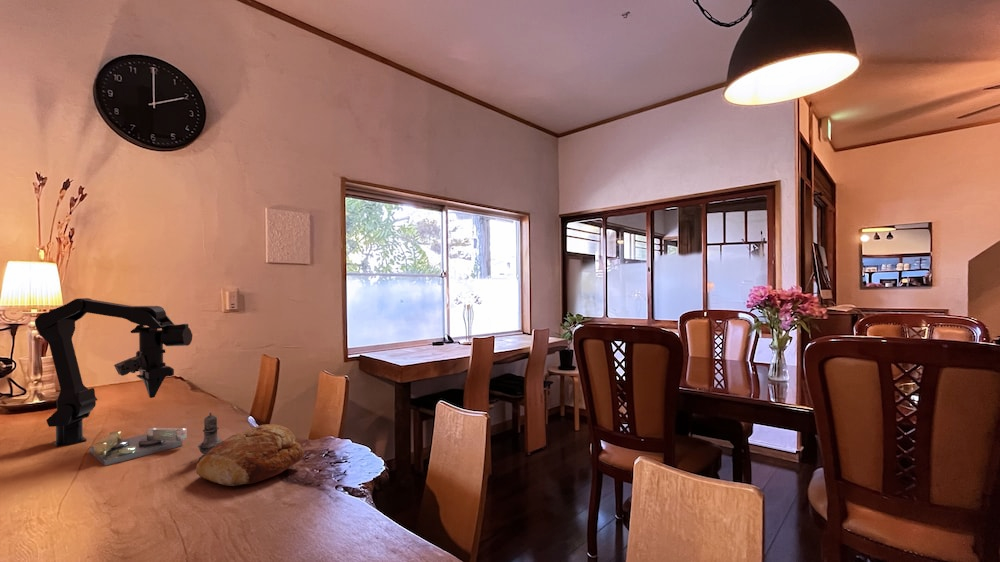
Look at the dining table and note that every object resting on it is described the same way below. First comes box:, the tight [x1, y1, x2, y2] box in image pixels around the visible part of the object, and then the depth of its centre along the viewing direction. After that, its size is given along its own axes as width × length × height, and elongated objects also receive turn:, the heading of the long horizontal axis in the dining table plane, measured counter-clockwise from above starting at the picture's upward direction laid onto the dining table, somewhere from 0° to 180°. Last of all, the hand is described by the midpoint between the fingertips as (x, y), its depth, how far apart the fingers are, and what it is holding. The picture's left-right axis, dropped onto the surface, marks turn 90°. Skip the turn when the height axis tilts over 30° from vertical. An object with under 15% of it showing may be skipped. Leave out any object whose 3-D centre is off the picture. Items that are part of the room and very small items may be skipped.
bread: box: [195, 423, 304, 487], centre depth 109 cm, size 20×18×10 cm
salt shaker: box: [197, 412, 224, 461], centre depth 118 cm, size 6×6×12 cm
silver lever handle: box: [139, 427, 188, 446], centre depth 125 cm, size 13×6×4 cm, turn 86°
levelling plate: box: [89, 433, 184, 467], centre depth 124 cm, size 16×17×2 cm
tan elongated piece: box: [93, 430, 129, 456], centre depth 119 cm, size 13×6×4 cm, turn 23°
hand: (151, 397), depth 134 cm, fingers closed
